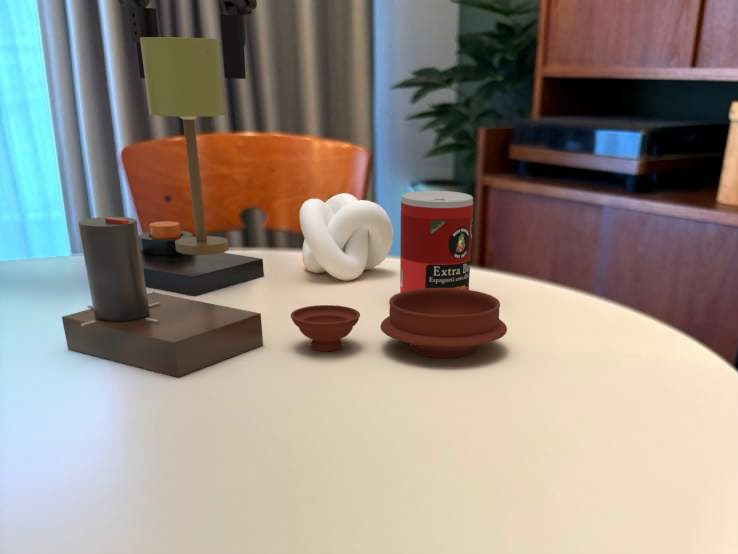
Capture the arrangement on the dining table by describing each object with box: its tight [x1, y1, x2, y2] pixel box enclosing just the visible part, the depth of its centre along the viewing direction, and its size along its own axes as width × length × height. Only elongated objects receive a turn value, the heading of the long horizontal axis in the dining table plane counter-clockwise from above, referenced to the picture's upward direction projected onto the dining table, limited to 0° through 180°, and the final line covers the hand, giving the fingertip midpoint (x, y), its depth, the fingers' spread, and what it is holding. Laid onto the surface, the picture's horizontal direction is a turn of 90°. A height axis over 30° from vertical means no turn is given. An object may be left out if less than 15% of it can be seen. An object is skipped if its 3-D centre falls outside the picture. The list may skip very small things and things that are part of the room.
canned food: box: [399, 190, 474, 293], centre depth 90 cm, size 8×8×11 cm
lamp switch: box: [149, 220, 182, 238], centre depth 103 cm, size 4×4×2 cm
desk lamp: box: [140, 36, 230, 255], centre depth 91 cm, size 8×8×21 cm
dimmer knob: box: [77, 216, 150, 321], centre depth 73 cm, size 5×5×8 cm
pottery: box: [290, 288, 508, 359], centre depth 77 cm, size 12×20×4 cm, turn 90°
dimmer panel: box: [61, 291, 264, 378], centre depth 76 cm, size 14×12×3 cm
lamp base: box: [138, 230, 265, 297], centre depth 100 cm, size 16×12×4 cm
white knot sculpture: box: [299, 192, 394, 282], centre depth 101 cm, size 11×12×9 cm
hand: (195, 79), depth 95 cm, fingers open, 13 cm apart
